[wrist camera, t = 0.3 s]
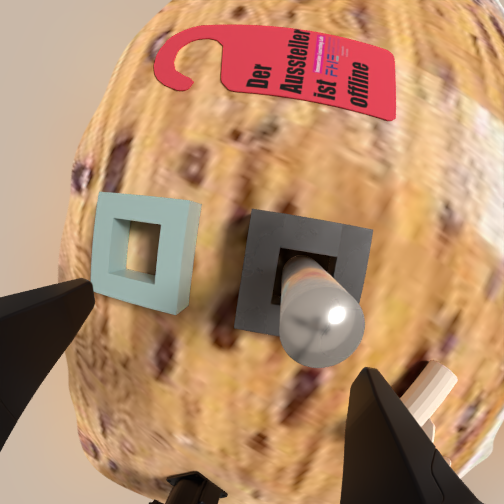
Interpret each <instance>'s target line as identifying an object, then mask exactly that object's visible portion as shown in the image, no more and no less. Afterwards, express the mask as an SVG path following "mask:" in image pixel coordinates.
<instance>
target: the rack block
mask: <svg viewBox="0 0 504 504" xmlns="http://www.w3.org/2000/svg"><path fill="white" fill-rule="evenodd" d="M201 206H202V204H199V203H196V202H193V201H189V200H180V199H172V198H162V197H153V196H142V195H132V194H120V193H108V192H99V196H98V202H97V209H96V217H95V225H94V235H93V247H92V262H91V282H92V284H93V290H94V292H96V293H99V294H102V295H106V296H109V297H112V298H115V299H119V300H122V301H125V302H129V303H132V304H136V305H139V306H143V307H146V308H150V309H154V310H158V311H161V312H165V313H169V314H173V315H177V314H178V313H180V312H181V311H182V310H184V309H185V308H186V307H187V306H189V296H190V287H191V278H192V270H193V262H194V254H195V246H196V239H197V232H198V225H199V218H200V212H201ZM131 220H133V221H140V222H147V223H154V224H160V225H161V230H160V238H159V246H158V255H157V265H156V276H155V275H151V274H147V273H142V272H138V271H134V270H129V269H126V260H127V249H128V239H129V231H130V223H131Z"/></svg>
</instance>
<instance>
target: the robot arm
mask: <svg viewBox="0 0 504 504" xmlns="http://www.w3.org/2000/svg"><path fill="white" fill-rule="evenodd" d="M94 305H95V298H94V290H93V284H92V282H91V281H89V280H86V279H84V278H79V279H75V280H71V281H66V282H62V283H58V284H54V285H49V286H45V287H41V288H37V289H33V290H29V291H25V292H20V293H17V294H13V295H8V296H4V297H0V451H1V450H2V448H3V446H4V444H5V442H6V440H7V439H8V437H9V435H10V433H11V431H12V430H13V428H14V426H15V425H16V423H17V421H18V419H19V417H20V416H21V414H22V412H23V411H24V409H25V408H26V406H27V404H28V403H29V401H30V400H31V398H32V397H33V395H34V394H35V392H36V390H37V389H38V388H39V386H40V385H41V383H42V382H43V381H44V379H45V378H46V376H47V375H48V373H49V372H50V370H51V369H52V368H53V366H54V365H55V363H56V362H57V361H58V359H59V358H60V357H61V355H62V354H63V353H64V351H65V350H66V349H67V347H68V346H69V345H70V343H71V342H72V340H73V339H74V338H75V336H76V334H77V333H78V331H79V330H80V328H81V326H82V325H83V323H84V322H85V320H86V319H87V317H88V315H89V314H90V312H91V311H92V309H93V308H94ZM166 480H167V482H169V483H170V484H171V485H173V488H172V490H171V492H170V494H169V496H168V499H167V501H166V503H165V504H218V501H219V498H224V497H227V495H228V494H227V493H226V492H225V491H223V490H222V489H220V488H219V487H218V486H216V485H215V484H214V483H212V482H211V481H210V480H208V479H207V478H206V477H204V476H203V475H202V474H201V473H199V472H192V473H188V474H183V475H178V476H173V477H168V478H167V479H166ZM149 504H163V503H161V502H158V501H157V500H155V499H154V501H153V502H150V503H149ZM340 504H484V503H482V502H481V501H479V500H478V499H477V498H476V496H475V495H474V494H473V493H472V492H471V491H470V490H469V488H468V487H467V486H466V485H465V484H464V483H463V482H462V480H461V479H460V478H459V477H458V476H457V474H456V473H455V472H454V471H453V470H452V468H451V467H450V466H449V464H448V463H447V462H446V460H445V459H444V458H443V456H442V455H441V454H440V452H439V451H438V449H435V445H434V444H433V443H432V441H431V440H430V439H429V437H428V436H427V434H426V433H425V432H424V430H423V429H422V428H421V426H420V425H419V424H418V422H417V421H416V419H415V418H414V417H413V415H412V414H411V413H410V411H409V410H408V409H407V407H406V406H405V405H404V403H403V402H402V401H401V399H400V398H399V397H398V396H397V394H396V393H395V392H394V390H393V389H392V388H391V386H390V385H389V384H388V382H387V381H386V380H385V379H384V377H383V376H382V375H381V373H380V372H379V371H378V370H377V369H375V368H370V367H365V368H363V369H362V370H361V372H360V373H359V375H358V376H357V378H356V379H355V381H354V382H353V384H352V386H351V389H350V397H349V406H348V414H347V421H346V429H345V446H344V465H343V478H342V490H341V499H340Z"/></svg>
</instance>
